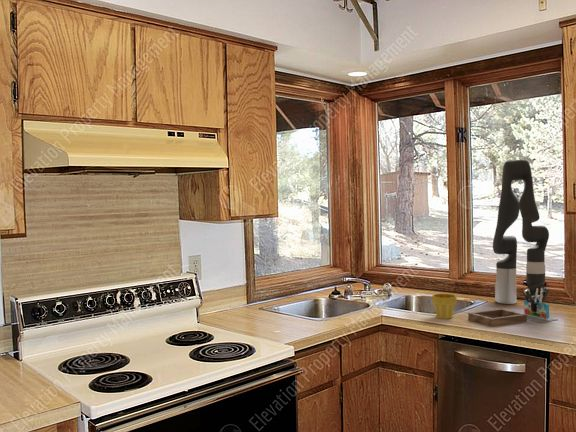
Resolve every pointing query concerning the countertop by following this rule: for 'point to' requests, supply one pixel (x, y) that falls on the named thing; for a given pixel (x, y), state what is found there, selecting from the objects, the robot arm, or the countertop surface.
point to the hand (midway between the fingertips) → (535, 311)
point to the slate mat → (539, 319)
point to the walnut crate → (507, 318)
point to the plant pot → (444, 305)
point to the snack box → (541, 310)
